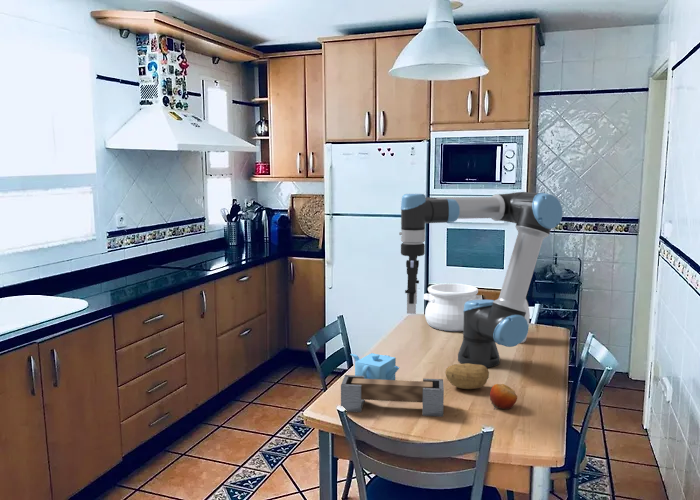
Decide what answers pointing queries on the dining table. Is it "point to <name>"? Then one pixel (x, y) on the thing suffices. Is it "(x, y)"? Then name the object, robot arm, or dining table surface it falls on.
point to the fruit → (503, 396)
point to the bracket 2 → (433, 398)
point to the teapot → (376, 366)
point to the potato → (467, 375)
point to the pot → (448, 305)
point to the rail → (392, 389)
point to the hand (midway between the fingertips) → (412, 308)
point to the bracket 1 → (351, 394)
